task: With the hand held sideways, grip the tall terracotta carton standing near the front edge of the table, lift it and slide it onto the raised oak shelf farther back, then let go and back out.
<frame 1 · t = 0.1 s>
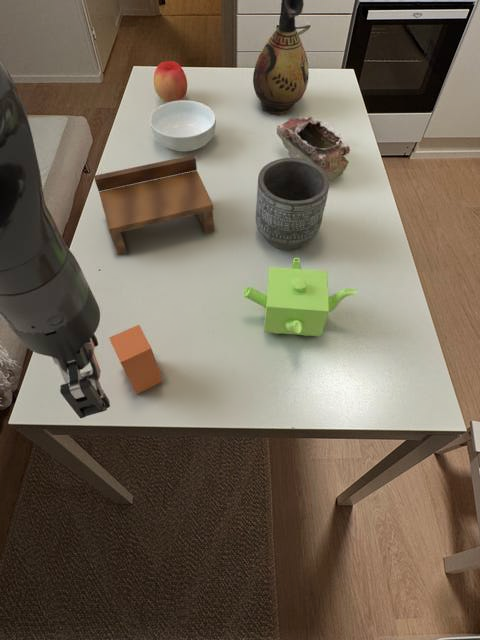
hand: (95, 375, 50), 22 cm above the table, tool pointing down, fingers open, 8 cm apart
kettle: (293, 321, 81), on the table
shelf: (161, 225, 95), on the table
cereal bowl: (185, 142, 112), on the table
carton: (144, 376, 74), on the table
ceramic jug: (277, 105, 123), on the table
apple: (172, 101, 124), on the table
decorative box: (303, 167, 107), on the table
planter: (286, 235, 94), on the table
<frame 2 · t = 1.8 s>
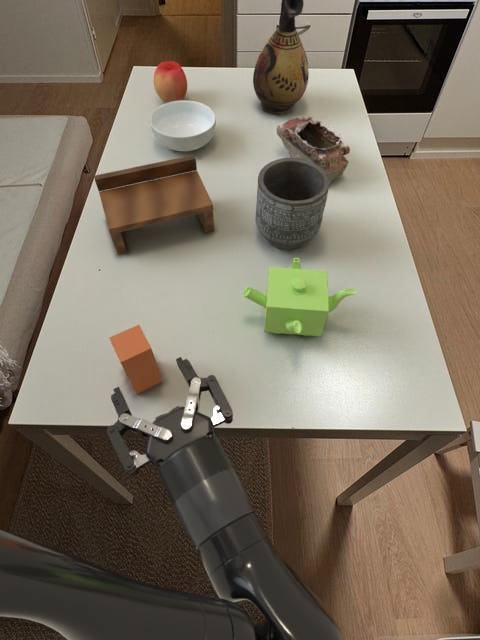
hand: (148, 375, 53), 19 cm above the table, tool horizontal, fingers open, 8 cm apart
nothing on the table moved.
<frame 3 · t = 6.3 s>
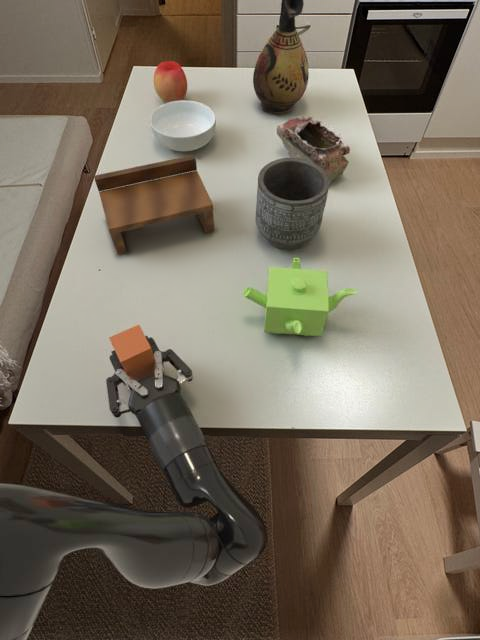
hand: (130, 346, 69), 7 cm above the table, tool horizontal, fingers closed on carton, 5 cm apart
carton: (144, 376, 74), on the table, touching gripper
everything else where it was.
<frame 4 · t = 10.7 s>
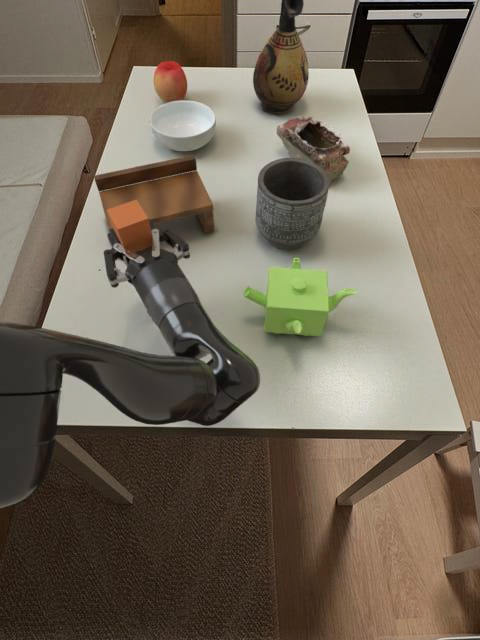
hand: (128, 227, 70), 18 cm above the table, tool horizontal, fingers closed on carton, 5 cm apart
carton: (141, 265, 74), point 11 cm above the table, touching gripper
everything else where it was.
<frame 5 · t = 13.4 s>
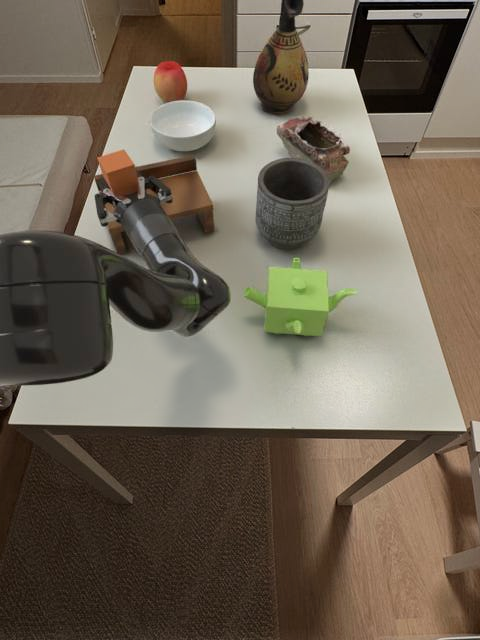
hand: (117, 176, 77), 17 cm above the table, tool horizontal, fingers closed on carton, 5 cm apart
carton: (130, 213, 82), point 10 cm above the table, touching gripper
everything else where it was.
when the fingers open (15 cm above the table, at t = 15.5 s): carton stays where it is, resting on shelf.
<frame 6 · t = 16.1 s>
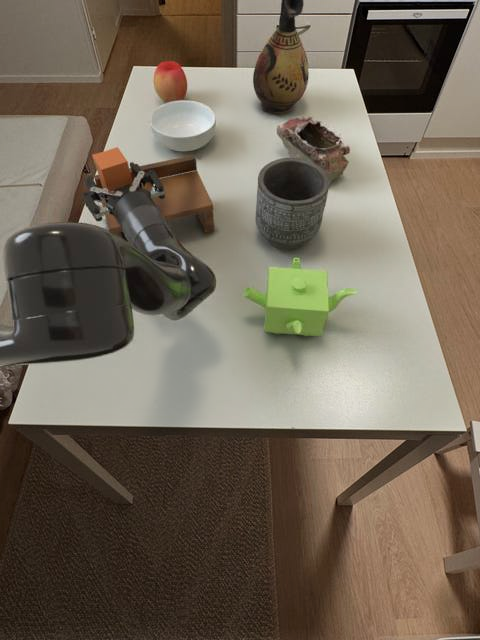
hand: (111, 172, 81), 15 cm above the table, tool horizontal, fingers open, 8 cm apart
carton: (124, 208, 86), point 8 cm above the table, touching shelf
everything else where it was.
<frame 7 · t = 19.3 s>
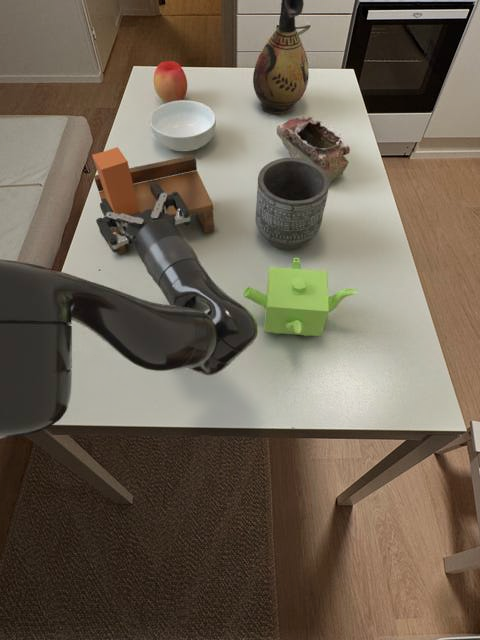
hand: (128, 194, 71), 20 cm above the table, tool horizontal, fingers open, 8 cm apart
nothing on the table moved.
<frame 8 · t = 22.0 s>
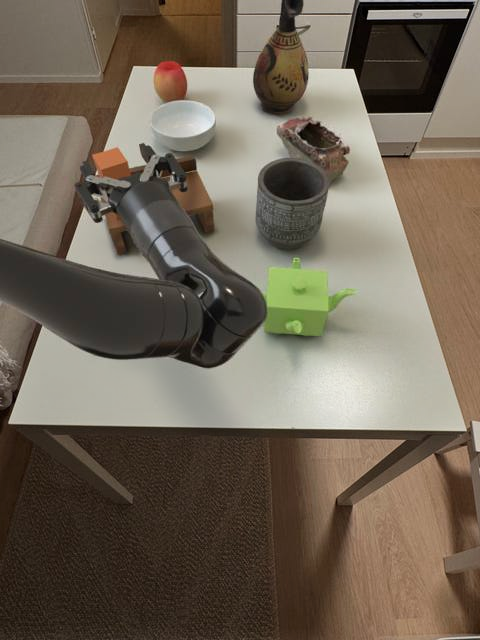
hand: (114, 157, 60), 30 cm above the table, tool horizontal, fingers open, 8 cm apart
nothing on the table moved.
at the end: carton inside the target area on the shelf (7.0 cm from its centre), point 8.0 cm above the shelf's base; carton tilted 0°; the gripper is holding nothing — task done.
